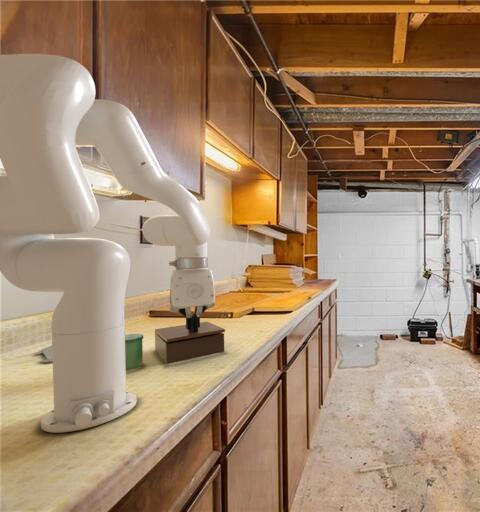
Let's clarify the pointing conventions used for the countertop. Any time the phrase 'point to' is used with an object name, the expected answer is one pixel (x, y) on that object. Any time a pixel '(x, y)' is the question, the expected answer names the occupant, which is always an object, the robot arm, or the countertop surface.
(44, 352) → the metal bracket
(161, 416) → the countertop surface
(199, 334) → the bin lid
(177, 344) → the bin
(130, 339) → the pot
